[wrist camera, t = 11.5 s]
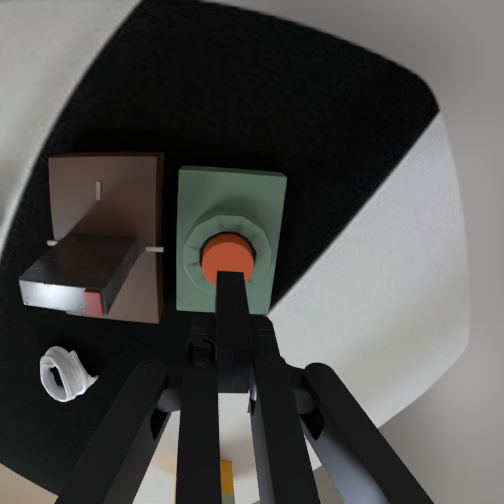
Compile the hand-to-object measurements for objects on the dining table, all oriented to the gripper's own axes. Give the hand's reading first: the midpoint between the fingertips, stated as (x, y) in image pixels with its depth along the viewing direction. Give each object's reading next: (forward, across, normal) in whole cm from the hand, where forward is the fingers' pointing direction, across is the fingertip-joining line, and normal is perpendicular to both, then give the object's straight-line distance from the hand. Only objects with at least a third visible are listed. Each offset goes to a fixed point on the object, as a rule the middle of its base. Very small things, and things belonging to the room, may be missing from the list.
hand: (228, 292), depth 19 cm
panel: (+10, -10, 0) cm, 14 cm away
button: (+6, 0, 0) cm, 6 cm away
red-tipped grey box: (+7, -10, 0) cm, 12 cm away
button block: (+10, 0, 0) cm, 10 cm away
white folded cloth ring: (+10, -18, -18) cm, 27 cm away
